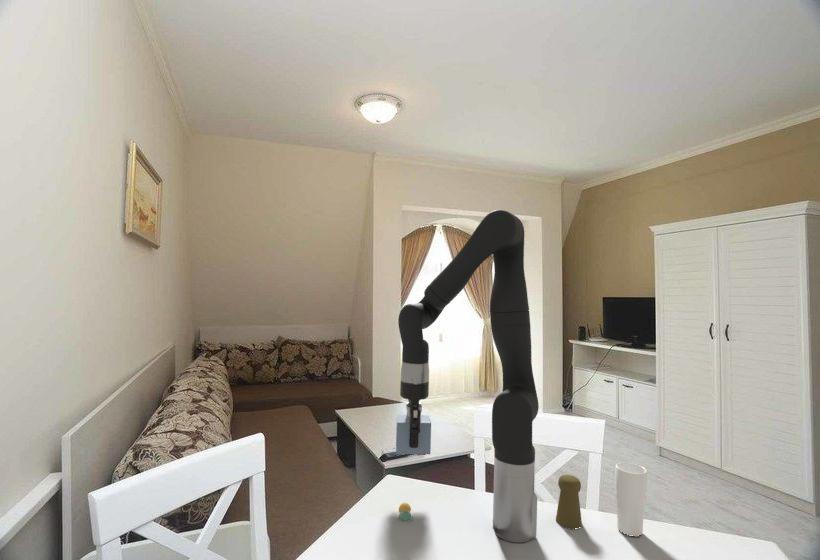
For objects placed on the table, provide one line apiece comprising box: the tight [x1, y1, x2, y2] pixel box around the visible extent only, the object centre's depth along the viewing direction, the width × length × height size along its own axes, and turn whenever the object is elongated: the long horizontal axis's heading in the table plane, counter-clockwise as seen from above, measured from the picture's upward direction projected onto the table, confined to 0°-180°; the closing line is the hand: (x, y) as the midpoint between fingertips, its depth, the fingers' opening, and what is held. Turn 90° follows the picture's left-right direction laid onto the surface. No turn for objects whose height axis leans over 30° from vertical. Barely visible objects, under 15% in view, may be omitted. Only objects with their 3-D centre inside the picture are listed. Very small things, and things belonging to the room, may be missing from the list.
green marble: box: [398, 511, 413, 522], centre depth 102 cm, size 3×3×3 cm
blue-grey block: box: [395, 414, 432, 455], centre depth 113 cm, size 9×6×8 cm
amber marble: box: [398, 502, 412, 513], centre depth 106 cm, size 3×3×3 cm
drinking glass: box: [614, 461, 648, 536], centre depth 101 cm, size 7×7×15 cm
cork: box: [555, 474, 583, 530], centre depth 105 cm, size 6×6×11 cm
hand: (412, 442), depth 113 cm, fingers closed on blue-grey block, 6 cm apart
